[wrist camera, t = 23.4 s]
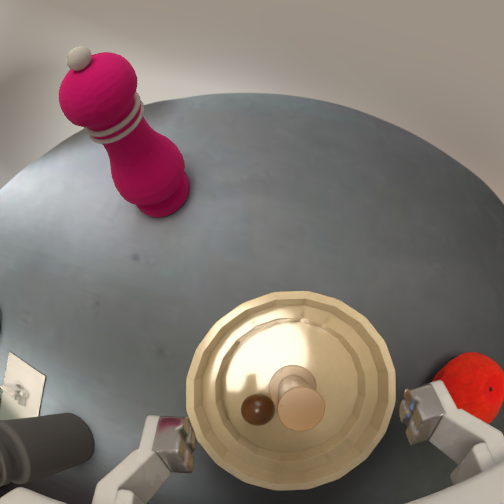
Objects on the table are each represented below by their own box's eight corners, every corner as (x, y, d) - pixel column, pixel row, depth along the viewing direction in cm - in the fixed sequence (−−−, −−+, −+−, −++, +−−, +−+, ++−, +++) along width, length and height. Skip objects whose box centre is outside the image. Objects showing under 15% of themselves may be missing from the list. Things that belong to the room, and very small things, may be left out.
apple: (524, 424, 15) (474, 431, 22) (518, 338, 19) (472, 359, 26) (460, 446, 15) (412, 445, 22) (457, 344, 19) (412, 364, 26)
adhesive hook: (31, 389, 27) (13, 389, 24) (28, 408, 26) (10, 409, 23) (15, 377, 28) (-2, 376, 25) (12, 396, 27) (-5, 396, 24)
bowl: (371, 458, 23) (391, 478, 17) (206, 463, 24) (189, 485, 18) (369, 300, 28) (390, 286, 22) (205, 306, 29) (187, 293, 23)
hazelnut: (249, 419, 25) (266, 435, 23) (228, 407, 24) (244, 424, 22) (269, 396, 26) (287, 410, 24) (249, 382, 25) (267, 397, 22)
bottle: (99, 464, 24) (1, 504, 10) (59, 458, 24) (-38, 483, 10) (89, 413, 26) (-20, 428, 12) (49, 411, 26) (-54, 416, 12)
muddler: (315, 408, 25) (340, 442, 13) (269, 409, 25) (261, 446, 14) (314, 363, 26) (340, 368, 15) (268, 365, 26) (260, 371, 15)
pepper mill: (204, 170, 34) (144, 13, 15) (179, 229, 32) (78, 84, 13) (149, 160, 35) (71, 26, 16) (123, 214, 33) (12, 91, 14)
